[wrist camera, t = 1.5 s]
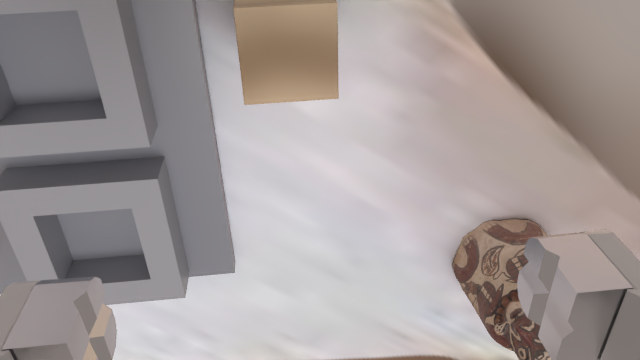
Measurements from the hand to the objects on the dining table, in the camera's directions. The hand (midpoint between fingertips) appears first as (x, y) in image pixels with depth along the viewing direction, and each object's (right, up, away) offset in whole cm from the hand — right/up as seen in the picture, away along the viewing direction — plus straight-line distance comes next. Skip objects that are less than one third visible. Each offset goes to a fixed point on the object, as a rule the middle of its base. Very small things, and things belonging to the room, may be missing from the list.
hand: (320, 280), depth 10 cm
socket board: (-16, +4, +21) cm, 26 cm away
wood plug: (-2, +11, +18) cm, 21 cm away
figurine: (+13, -4, +29) cm, 32 cm away
